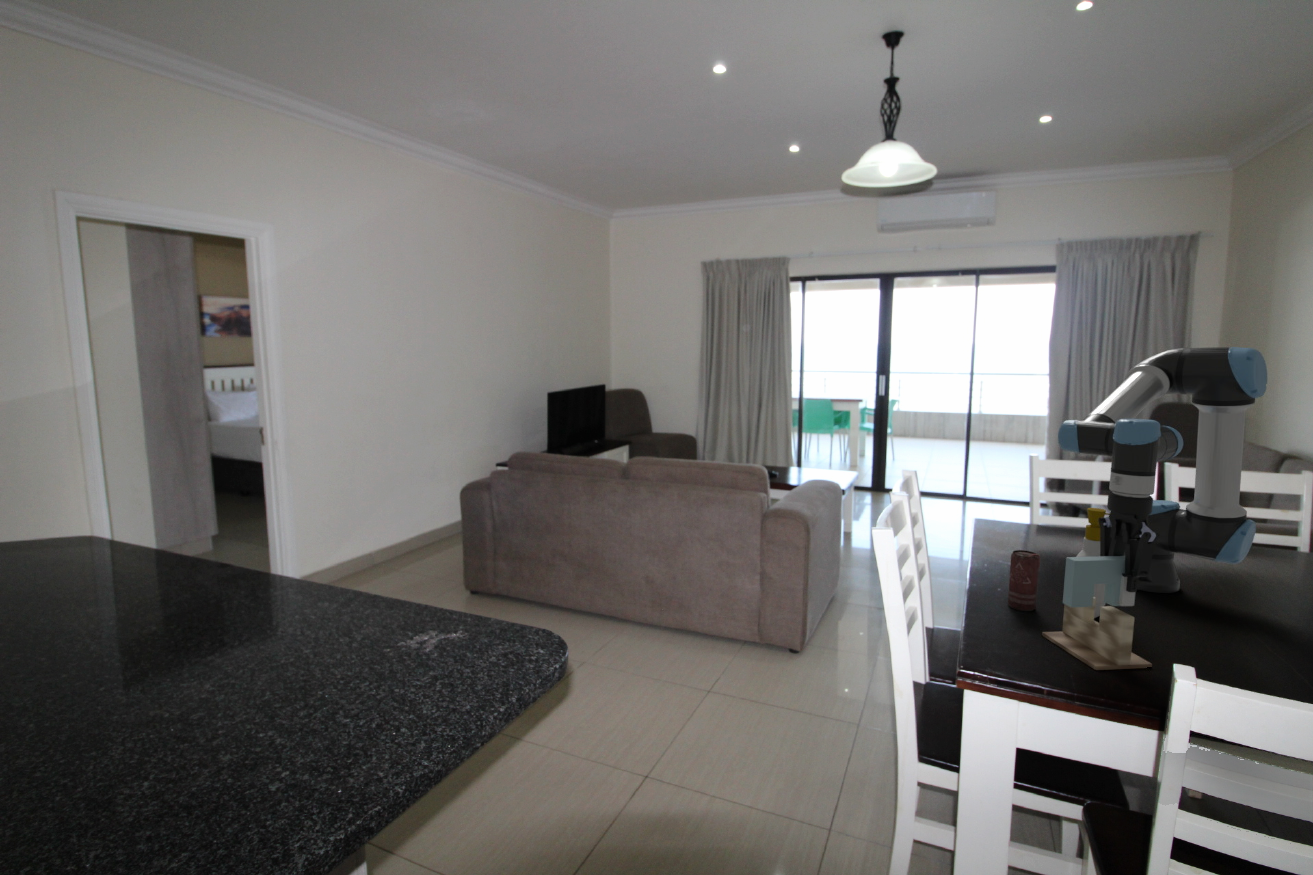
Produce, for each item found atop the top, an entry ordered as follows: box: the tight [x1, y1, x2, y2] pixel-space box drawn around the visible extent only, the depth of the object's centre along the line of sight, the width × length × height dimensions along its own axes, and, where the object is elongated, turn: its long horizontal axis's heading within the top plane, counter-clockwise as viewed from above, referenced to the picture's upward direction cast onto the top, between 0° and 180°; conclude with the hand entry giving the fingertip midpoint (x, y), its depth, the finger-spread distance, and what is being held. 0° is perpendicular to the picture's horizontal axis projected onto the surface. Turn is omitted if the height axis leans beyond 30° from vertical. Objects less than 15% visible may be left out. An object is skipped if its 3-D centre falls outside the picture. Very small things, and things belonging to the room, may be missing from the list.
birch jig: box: [1041, 597, 1153, 671], centre depth 136 cm, size 16×12×11 cm
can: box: [1007, 549, 1041, 612], centre depth 160 cm, size 6×6×14 cm
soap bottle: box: [1075, 507, 1110, 619], centre depth 155 cm, size 14×9×26 cm, turn 140°
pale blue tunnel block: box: [1062, 556, 1136, 607], centre depth 135 cm, size 14×2×10 cm, turn 94°
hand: (1120, 602), depth 136 cm, fingers closed on pale blue tunnel block, 2 cm apart
